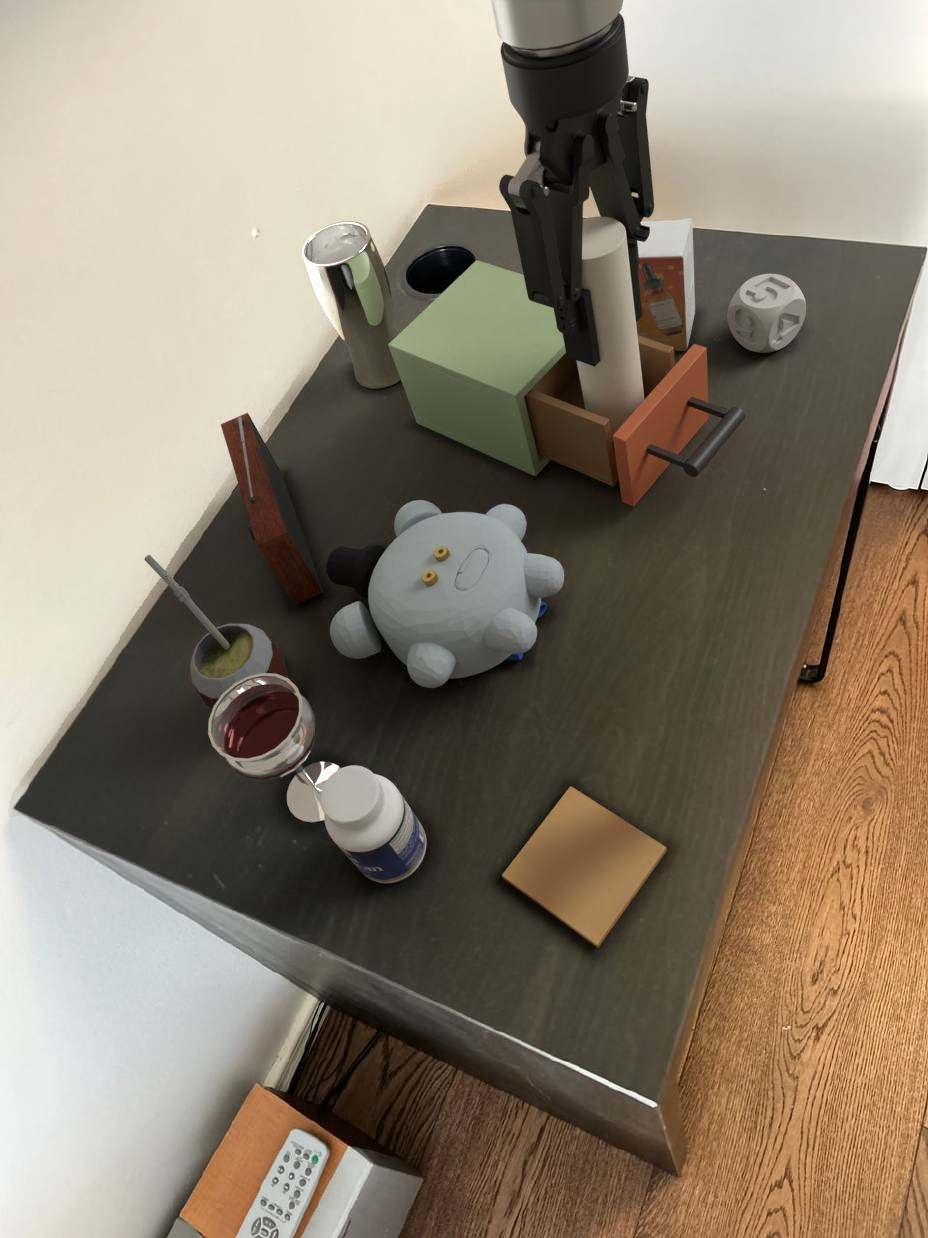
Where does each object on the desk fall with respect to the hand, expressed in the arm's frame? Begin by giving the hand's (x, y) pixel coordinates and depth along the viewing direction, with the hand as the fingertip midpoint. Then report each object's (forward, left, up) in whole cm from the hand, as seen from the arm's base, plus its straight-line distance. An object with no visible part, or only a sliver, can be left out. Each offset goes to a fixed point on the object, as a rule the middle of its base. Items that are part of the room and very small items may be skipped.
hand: (604, 335), depth 76 cm
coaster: (-20, +33, -13) cm, 41 cm away
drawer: (-1, 0, -12) cm, 12 cm away
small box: (+6, -14, -13) cm, 20 cm away
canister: (0, 0, -9) cm, 9 cm away
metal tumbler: (+28, +2, -13) cm, 31 cm away
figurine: (+2, +22, -13) cm, 26 cm away
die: (-4, -18, -13) cm, 23 cm away
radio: (+20, +24, -13) cm, 34 cm away
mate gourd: (+10, +37, -13) cm, 40 cm away
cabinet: (+12, 0, -13) cm, 18 cm away
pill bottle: (-8, +40, -13) cm, 43 cm away
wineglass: (0, +40, -13) cm, 42 cm away
